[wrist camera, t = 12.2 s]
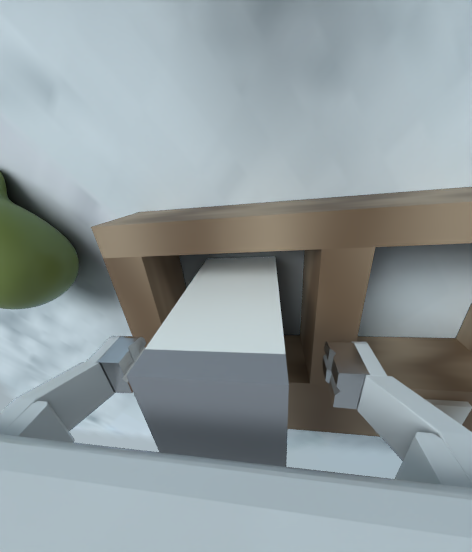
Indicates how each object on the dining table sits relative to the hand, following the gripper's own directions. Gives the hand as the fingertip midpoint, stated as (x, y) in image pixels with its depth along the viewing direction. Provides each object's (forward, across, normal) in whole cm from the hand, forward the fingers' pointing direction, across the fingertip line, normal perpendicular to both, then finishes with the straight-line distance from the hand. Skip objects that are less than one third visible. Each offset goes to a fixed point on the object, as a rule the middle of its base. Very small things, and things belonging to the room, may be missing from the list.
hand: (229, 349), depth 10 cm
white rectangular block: (+6, 0, 0) cm, 6 cm away
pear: (+6, +14, -5) cm, 16 cm away
